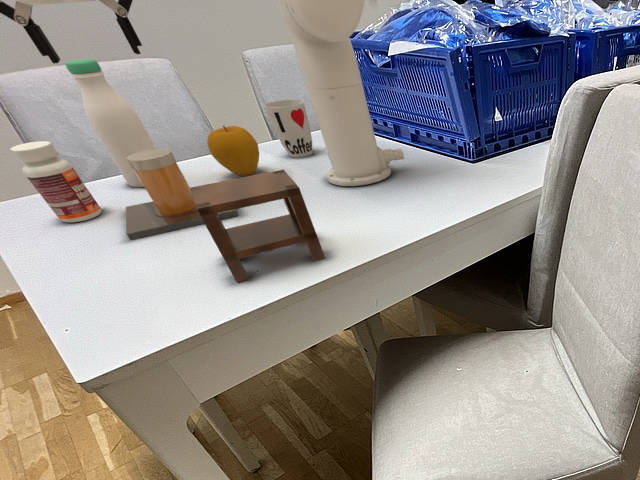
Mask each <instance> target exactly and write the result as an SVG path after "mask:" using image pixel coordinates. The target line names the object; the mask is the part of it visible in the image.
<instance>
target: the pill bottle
mask: <svg viewBox="0 0 640 480" xmlns="http://www.w3.org/2000/svg"><path fill="white" fill-rule="evenodd" d="M10 152H11V153H12V154H13V155H14V157H15V158H16V160H17V161H18V162H19V163H24V165H23V166H22V172H23V174H24V175H25V177H26V178H27V180H28V181H29V182H30V183H31V184H32V186H33V187H34V189H35V190H36V191H37V192H38V194H39V195H40V196H41V197H42V199H43V200H44V202H45V203H46V204H47V205H48V206H49V208H50V209H51V211H52V212H53V214H55V216H56V217H57V218H58V219H59V220H60V221H61V222H64V223H79V222H84V221H89V220H92V219H94V218H96V217H98V216H100V215H101V214H102V211H103V210H102V208H101V206H100V205H99V203H98V201H96V199H95V197H93V195H92V193H91V191H89V189H88V188H87V186H86V184H85V183H84V182H83V181H82V179H81V178H80V176H79V175H78V173H77V171H76V170H75V169H74V167H73V166H72V165H71V164H70V162H69V161H67V160H66V159H64V158H61V157H57V156H59V152H58V151H57V150H56V148H55V147H54V145H53V144H52V143H51V141H47V140H44V141H43V140H42V141H41V140H39V141H31V142H26V143H21V144H17V145H14V146H12V147H11V148H10Z"/></svg>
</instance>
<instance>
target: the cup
mask: <svg viewBox="0 0 640 480" xmlns="http://www.w3.org/2000/svg"><path fill="white" fill-rule="evenodd" d="M262 107H263V109H264V111H265V113H266V115H267V118H268V120H269V122H270V124H271V127H272V129H273V131H274V132H275V134H276V136H277V138H278V140H279V142H280V143H281V145H282V147H283V148H284V150H285V151H286V153H287V154H288V155H289V157H291V158H304V157H309V156H311V155H313V154H314V151H313V136H312V132H311V126H310V121H309V117H308V114H307V113H308V112H307V110H306V105H305V103H304V100H302V99H280V100H274V101H269V102H266V103H264V104H263V106H262Z"/></svg>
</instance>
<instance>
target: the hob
mask: <svg viewBox="0 0 640 480" xmlns="http://www.w3.org/2000/svg"><path fill="white" fill-rule="evenodd" d="M218 215H219V217H220V219H221V221H222V220H226V219H231V218H236V217H238V216H239V214H238V211H237V209H234V210H230V211H225V212H221V213H218ZM203 224H204V225H205V223H204V222H203V220H202V218H201V216H200V214H199V212H198V211H197V209H196V208H194V209H192V210H190V211H187V212H184V213H179V214H171V215H166V214H161V213H160V212H159V211H158V209H157V207H156V206H155V204H154V202H153V201H149V202H143V203H138V204H133V205H129V206H125V225H126V226H125V227H126V232H125V233H126V236H127V237H128V238H129V240H130V241H132V240H136V239H141V238H146V237H150V236H155V235H159V234H164V233H168V232H172V231H177V230H181V229H186V228H190V227H194V226H198V225H199V226H200V225H203Z"/></svg>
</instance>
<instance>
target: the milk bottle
mask: <svg viewBox="0 0 640 480" xmlns="http://www.w3.org/2000/svg"><path fill="white" fill-rule="evenodd" d="M64 65H65V67H66V69H67V71H68V72H69V74H70V75H71V76H72V78H73V79H75V81H76V82H77V85H78V87H79V89H80V93H81V97H82V102H83V103H82V104H83V108H84V109H83V110H84V112H85V115H86V118H87V120H88V122H89V124H90V125H91V127H92V128H93V131H94V132H95V134H96V136H97V137H98V139H99V140H100V142H101V143H102V145H103V147H104V149H105V150H106V151H107V153H108V155H109V157H110V158H111V160H112V161H113V163H114V164H115V166H116V168H117V169H118V171H119V172H120V175H122V177H123V178H124V180H125V182H126V184H128V186H130V187H132V188H145V187H144V186H143V184H142V182H141V181H140V179H139V177H138V176H137V174H136V173H135V171H134V169H132V167H131V166H130V164H129V162H128V161H127V159H126V158H127V157H128V156H129V155H131V154H134V153H137V152H141V151H146V150H153V149H157V147H156V145H155V143H154V142H153V140H152V138H151V136H150V134H149V133H148V131H147V129H146V127H145V125H144V124H143V122H142V120H141V118H140V117H139V115H138V113H137V112H136V111H135V110H134V107H132V106H131V104H130V103H129V102H128V101H127V100H125V98H124V97H122V95H120V94H119V93H118V92H117V91H116V90H115V89H114V88H113V87H112V86H111V84H110V83H109V82H108V80H107V79H106V77H105V76H104V75H105V73H104V72H103V70H102V67H101V65H100V64H99V62H98V61H97V60H96V59H93V58H89V59H87V58H86V59H75V60H69V61H65V62H64Z"/></svg>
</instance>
